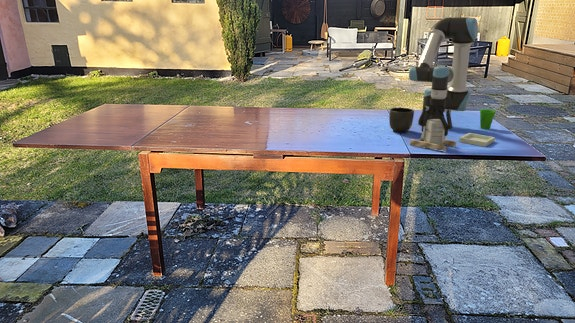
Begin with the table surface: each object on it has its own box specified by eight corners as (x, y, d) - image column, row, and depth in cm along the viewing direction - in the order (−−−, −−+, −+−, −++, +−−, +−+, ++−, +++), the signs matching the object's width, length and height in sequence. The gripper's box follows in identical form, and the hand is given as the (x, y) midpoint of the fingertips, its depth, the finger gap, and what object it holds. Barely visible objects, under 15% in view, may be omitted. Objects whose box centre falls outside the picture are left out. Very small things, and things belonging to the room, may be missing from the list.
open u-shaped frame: (410, 145, 226) (410, 139, 225) (421, 140, 235) (422, 134, 234) (444, 152, 214) (445, 146, 213) (455, 146, 223) (456, 141, 222)
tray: (458, 141, 232) (459, 137, 231) (468, 136, 241) (469, 132, 241) (485, 147, 223) (485, 142, 222) (494, 141, 232) (495, 137, 232)
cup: (494, 130, 254) (497, 112, 251) (478, 130, 256) (481, 112, 253) (491, 127, 263) (493, 109, 259) (475, 126, 265) (478, 109, 261)
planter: (413, 129, 257) (415, 108, 253) (409, 135, 245) (412, 113, 241) (390, 127, 262) (392, 106, 258) (385, 132, 250) (387, 111, 246)
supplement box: (423, 142, 228) (426, 119, 224) (437, 141, 228) (439, 118, 224) (429, 146, 221) (431, 122, 217) (442, 145, 221) (445, 122, 217)
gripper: (414, 96, 221) (410, 137, 228) (457, 101, 206) (451, 145, 214) (421, 94, 226) (417, 134, 233) (463, 99, 212) (457, 142, 219)
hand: (433, 139), depth 224 cm, fingers closed on supplement box, 10 cm apart
